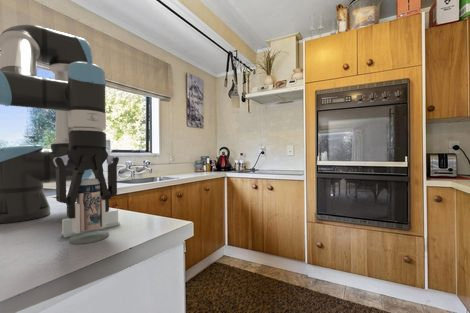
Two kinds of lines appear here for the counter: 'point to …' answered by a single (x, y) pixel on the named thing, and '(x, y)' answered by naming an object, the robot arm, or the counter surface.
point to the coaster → (88, 237)
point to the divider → (110, 221)
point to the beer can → (89, 205)
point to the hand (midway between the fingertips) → (89, 228)
